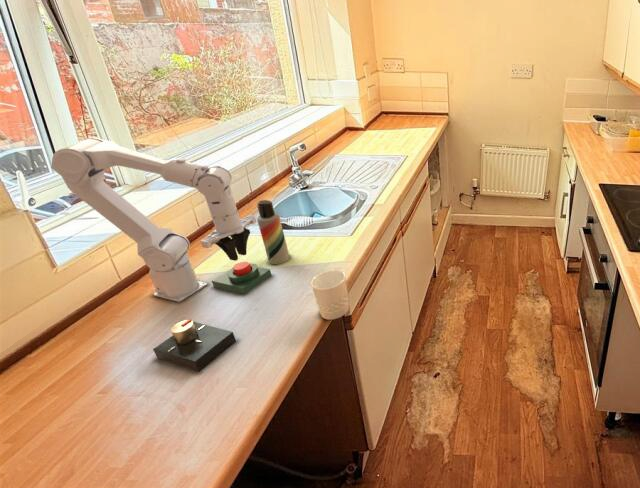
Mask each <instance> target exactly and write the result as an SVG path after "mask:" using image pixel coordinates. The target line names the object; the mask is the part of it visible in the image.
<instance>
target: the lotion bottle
mask: <svg viewBox="0 0 640 488" xmlns="http://www.w3.org/2000/svg"><path fill="white" fill-rule="evenodd" d="M256 206H257V210H258V214H259V216H257V218H256V222H257V225H258V228H259V232H260V236H261V239H262V243H263V245H264V251H265V253H266V256H267V260H268V262H269V264H271V265H279V264H282V263H285V262H286V261H288V260H289V259H290V254H289V253H290V252H289V249H288V244H287V241H286V238H285V234H284V230H283V229H284V228H283V226H282V221H281V217H280V214H279V213H278V212H275V209H274V205H273V202H272V200H265V199H264V200H259V201H258V202H257V203H256Z"/></svg>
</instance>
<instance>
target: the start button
mask: <svg viewBox="0 0 640 488" xmlns="http://www.w3.org/2000/svg"><path fill="white" fill-rule="evenodd" d="M232 268H233V271H234V274H235V275H243V274H246V273H248V272H250V271H251V267H250V262H249V261H240V262H237V263H236V264H234V265H233V266H232Z"/></svg>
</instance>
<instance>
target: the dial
mask: <svg viewBox="0 0 640 488" xmlns="http://www.w3.org/2000/svg"><path fill="white" fill-rule="evenodd" d="M193 322H194V321H193V320H192V319H191V318H188V319H185V320H182V321H179V322H177V323H176V324H174V325H173V326H172V327H171V328H170V332H171V336H173V337H174V339H175V342H176V344H178V345H183V344H187V343H189V342H191V341H193V340H194V339H196V337H197V336H198V333H197V330H196V328H195V325H194V323H193Z"/></svg>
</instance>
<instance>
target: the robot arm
mask: <svg viewBox="0 0 640 488" xmlns="http://www.w3.org/2000/svg"><path fill="white" fill-rule="evenodd" d="M50 167H51V169H52V170H53V171H54V172H56V173H57V174H58V175H60V177H61V178H62V180H63V182H64V183H65V185H66V187H67V189H68V190H70V192H72V193H73V195H75V196H77V197H78V198H79V199H80V200H82V201H83V202H84V203H85V204H87V205H88V206H89V207H91V208H92V209H93V210H95V211H96V212H97V213H98V214H99V215H101V216H102V217H103V218H104V219H106V221H108V222H110V223H111V224H112V225H114V226H115V227H117V228H118V229H119V230H120V231H121V232H123V234H125V235H127V237H129V238H130V239H131V240H132V241H134V242H135V243H136V247H137V255H138V256H139V257H140V258H141V259H142V260H143V261H144V264H145V266H146V267H147V268H149V273H148V274H149V277H150V279H151V282H152V284H153V286H154V288H155V290H156V292H154V293H153V296H154V297H158V298H163V299H167V300H170V301H174V302H182V301H184V300H185V299H187V298H189V297H191V296H192V295H193V294H195V293H197V292H198V291H200V290H201V289H203V288H205V287H206V286H208V283H207V282H204V281H199V279H198V278H197V274H196V272H195V269H194V266H193V264H192V261H191V259H190V256H189V252H188V251H189V249H190V247H191V242H190V240H189V239H188V238H187V237H186V236H185V235H183V234H180V233H177V232H175V231H174V230H173V229H171V228H168V227H159V226H158V225H157V224H155V223H154V221H152V220H151V219H150V218H148V217H147V216H146V215H145V214H143V213H142V212H141V211H140V210H138V209H137V208H136V207H135V206H134V205H132V203H130V202H129V201H128V200H127V199H126V198H125V197H123V196H122V195H121V194H120V193H118V192H117V191H115V189H113V187H111V186H109V184H107V183H106V182H105V181H104V178H105V172H106V169H108V168H112V167H122V168H123V167H124V168H129V169H133V170H138V171H143V172H148V173H153V174H157V175H160V176H161V178H162V179H163V180H164V181H166V182H170V183H174V184H178V185H181V186H186V187H190V188H192V189H193V188H194V189H196V190H197V191H198V192H199V193H200V194H202V195H203V196H204V198H205V201H206V204H207V207H208V209H209V213H210V216H211V219H212V222H213V225H214V230H212V232H211V233H210V234H208V235H207V236H206V237H204V238H203V239H200V245H201V247H202V248H205V249H210V248H212V247H213V245H216V246H218V247H219V248H220V249H221V250H222V251H223V252H224V254H226V256H227V257H228V259H229V260H230V261H235V262H236V261H238V260H239V256H238V255H241V256H247V247H248V240H249V238H250V237H249V236H250V234H251V230H250V229H249V228H246V227H248V226H250V225H251V224H253V225H254V224H256V223H257V218H256V216H254V215H250V214H249V215H247V216H245V217H242V218H240V214H239V211H238V208H237V205H236V201H235V198H234V195H233V192H232V191H233V190H232V189H231V185H230V183H231V182H232V175H231V173H230V171H228V169H226V168H224V167H221V166H220V165H213V166H210V167H209V165H205V164H203V165H201V164H196V163H193V162H189V161H186V158H183V157H179V158H171V159H168V160H164V159H161V158H158V157H155V156H151V155H148V154H146V153H142V152H139V151H135V150H132V149H129V148H127V147H123V146H121V145H118V144H117V143H116V142H114V141H112V140H111V141H110V140H104V139H102V138H98V137H86V138H84V139H82V140H81V141H79V142H76V143H74V144H72V145H69V146H67V147H64V148H60V149H58V150H56V151H55V152H54V153H53V155H52V158H51V166H50Z"/></svg>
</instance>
